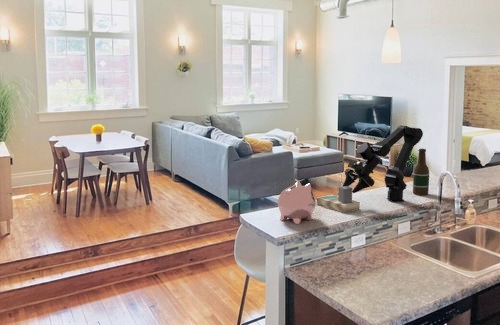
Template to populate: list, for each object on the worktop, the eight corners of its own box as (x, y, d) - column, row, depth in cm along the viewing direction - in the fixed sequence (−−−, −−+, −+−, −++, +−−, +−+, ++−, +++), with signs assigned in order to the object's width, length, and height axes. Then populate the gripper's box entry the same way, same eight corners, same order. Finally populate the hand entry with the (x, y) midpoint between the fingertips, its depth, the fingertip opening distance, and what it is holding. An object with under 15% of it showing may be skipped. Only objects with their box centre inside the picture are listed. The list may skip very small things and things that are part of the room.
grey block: (347, 200, 228) (347, 185, 226) (352, 202, 223) (352, 188, 222) (338, 201, 226) (338, 186, 225) (343, 203, 222) (343, 188, 221)
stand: (359, 209, 224) (359, 201, 224) (344, 212, 219) (344, 205, 218) (331, 201, 240) (331, 194, 239) (316, 204, 235) (316, 197, 234)
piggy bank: (323, 218, 212) (323, 183, 209) (297, 227, 200) (297, 190, 197) (297, 211, 223) (297, 178, 220) (271, 220, 211) (270, 185, 208)
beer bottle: (412, 195, 248) (413, 149, 244) (413, 191, 256) (414, 147, 251) (428, 196, 246) (430, 150, 241) (428, 192, 253) (430, 148, 248)
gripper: (348, 152, 232) (327, 176, 230) (369, 157, 214) (347, 183, 213) (361, 166, 235) (341, 190, 234) (384, 173, 218) (362, 199, 216)
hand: (347, 190), depth 224 cm, fingers open, 9 cm apart
